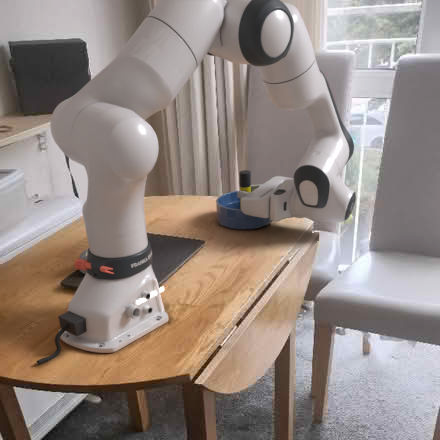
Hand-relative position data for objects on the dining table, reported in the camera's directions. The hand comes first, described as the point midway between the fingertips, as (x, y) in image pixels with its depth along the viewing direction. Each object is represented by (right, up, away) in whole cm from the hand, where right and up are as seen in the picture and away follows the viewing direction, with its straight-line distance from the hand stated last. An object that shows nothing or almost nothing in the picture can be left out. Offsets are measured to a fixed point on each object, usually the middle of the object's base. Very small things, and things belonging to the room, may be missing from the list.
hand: (242, 191), depth 152 cm
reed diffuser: (-34, -20, -12) cm, 41 cm away
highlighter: (+1, -5, +3) cm, 6 cm away
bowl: (+1, -6, +4) cm, 8 cm away
